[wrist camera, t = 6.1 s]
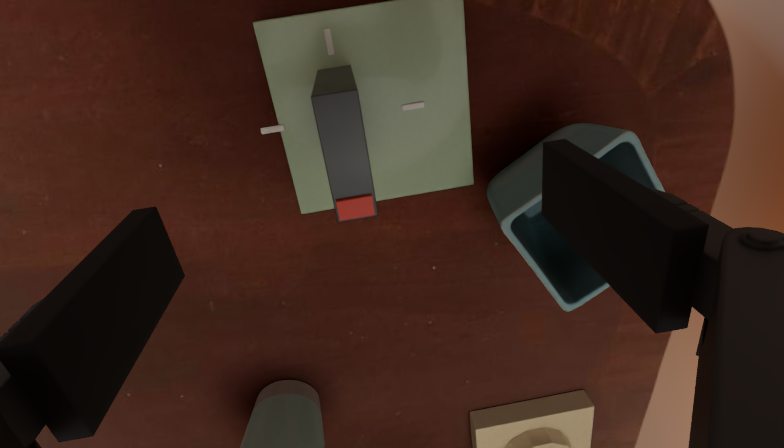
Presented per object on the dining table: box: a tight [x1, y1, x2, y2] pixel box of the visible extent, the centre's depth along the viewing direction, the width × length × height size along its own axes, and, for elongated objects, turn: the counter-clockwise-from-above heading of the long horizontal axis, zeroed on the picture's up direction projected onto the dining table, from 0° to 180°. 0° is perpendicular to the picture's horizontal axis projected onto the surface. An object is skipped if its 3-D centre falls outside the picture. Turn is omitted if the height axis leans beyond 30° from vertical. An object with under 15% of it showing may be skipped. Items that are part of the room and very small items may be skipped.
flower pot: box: [487, 123, 665, 312], centre depth 30 cm, size 9×9×9 cm
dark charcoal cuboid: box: [311, 65, 378, 223], centre depth 24 cm, size 6×2×9 cm, turn 8°
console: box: [253, 0, 474, 214], centre depth 29 cm, size 13×12×3 cm
